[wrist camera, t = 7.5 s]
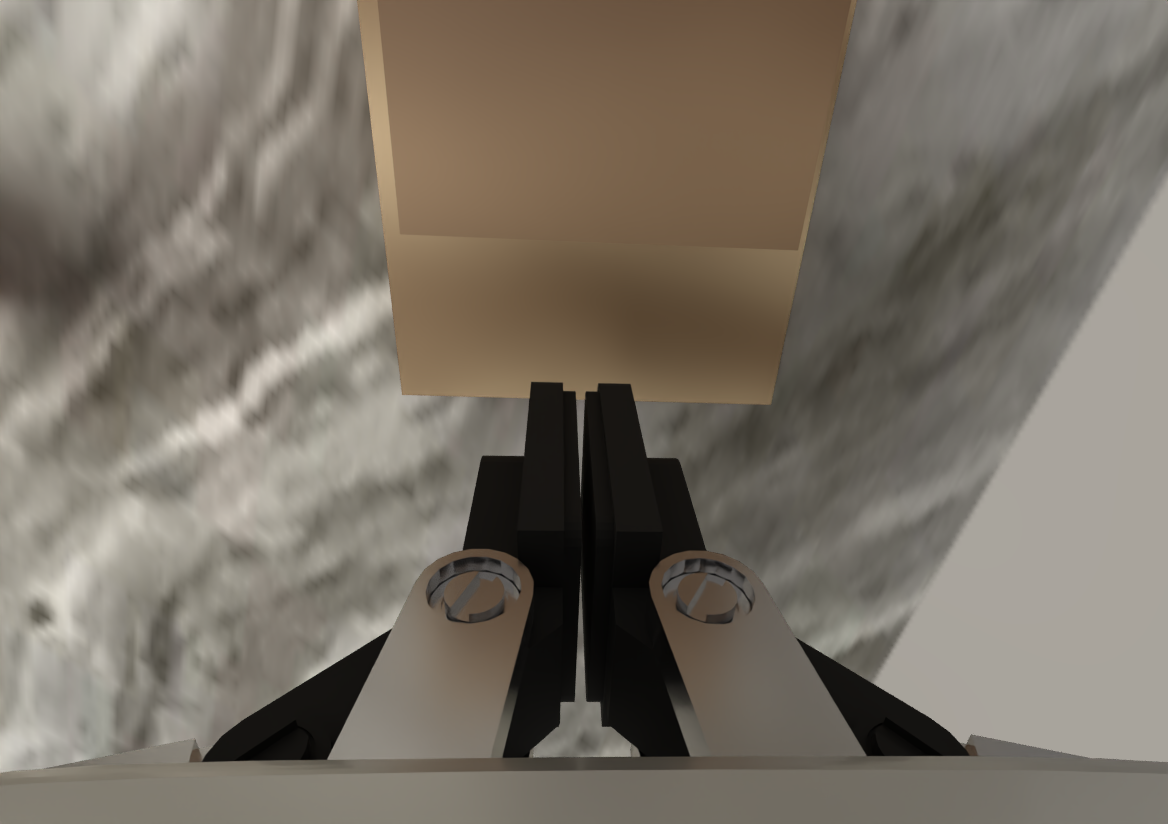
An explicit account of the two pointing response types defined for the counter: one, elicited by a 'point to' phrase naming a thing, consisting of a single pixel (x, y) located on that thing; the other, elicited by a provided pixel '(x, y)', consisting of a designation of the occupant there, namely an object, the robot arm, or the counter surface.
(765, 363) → the board
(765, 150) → the wooden rectangular block
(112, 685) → the counter surface
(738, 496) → the counter surface
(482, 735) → the robot arm
